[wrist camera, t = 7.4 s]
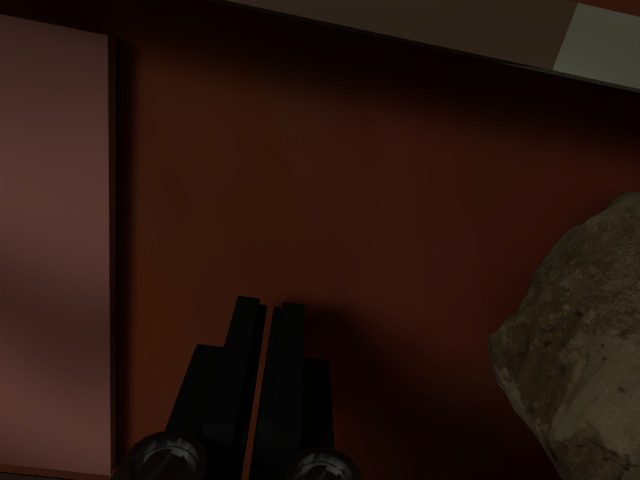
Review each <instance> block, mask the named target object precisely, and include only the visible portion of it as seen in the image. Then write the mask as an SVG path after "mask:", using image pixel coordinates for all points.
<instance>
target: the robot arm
mask: <svg viewBox="0 0 640 480" xmlns="http://www.w3.org/2000/svg"><path fill="white" fill-rule="evenodd" d="M259 302H260V299H258V298H251V297H243V296H238V298H237V302H236V305H235V309H234V313H233V316H232V320H231V323H230V327H229V331H228V334H227V338H226V341H225V345H224V347H217V346H209V345H201V344H198V345H197V346H196V348H195V350H194V353H193V356H192V358H191V361H190V364H189V366H188V369H187V372H186V375H185V377H184V380H183V383H182V385H181V388H180V391H179V394H178V396H177V399H176V402H175V404H174V407H173V410H172V413H171V415H170V418H169V421H168V423H167V426H166V429H165V431H163V432H157V433H154V434H152V435H149V436H147V437H145V438H143V439H142V440H140V441H139V442H137V443H136V444H135V445H134V446H133V447H132V448H131V449H130V450H129V451H128V453H127V454H126V455H125V457H124V458H123V460H122V461H121V463H120V465H119V466H118V468H117V469H116V471H115V473H114V474H113V476H112V477H111V479H110V480H241V476H242V470H243V463H244V457H245V450H246V444H247V438H248V431H249V425H250V419H251V412H252V406H253V399H254V393H255V386H256V379H257V372H258V366H259V359H260V352H261V345H262V338H263V332H264V325H265V318H266V311H267V305H260V304H259ZM304 308H305V307H304V305H302V304H295V303H288V302H283V306H282V307H274V311H273V317H272V323H271V330H270V336H269V343H268V349H267V356H266V362H265V369H264V375H263V382H262V388H261V395H260V402H259V409H258V416H257V423H256V431H255V438H254V445H253V452H252V459H251V467H250V474H249V480H363V478H362V476H361V474H360V471H359V469H358V467H357V466H356V465H355V464H354V463H353V461H352V460H351V459H350V458H349V457H347V456H346V455H344V454H343V453H342V452H340V451H337V450H335V449H334V436H333V419H332V401H331V384H330V367H329V361H328V360H321V359H313V358H305V357H303V355H304Z"/></svg>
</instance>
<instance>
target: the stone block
mask: <svg viewBox="0 0 640 480" xmlns="http://www.w3.org/2000/svg"><path fill="white" fill-rule="evenodd" d="M488 354H489V357H490V360H491V364H492V367H493V370H494V374H495V377H496V381H497V383H498V385H499V386H500V387H501V388H502V389H503V391H504V392H505V394H506V396H507V398H508V399H509V401H510V403H511V405H512V407H513V409H514V410H515V411H516V413H517V414H518V415H519V416H520V417H521V419H522V420H523V421H524V422H525V423H526V424H527V425H528V427H529V428H530V429H531V430H532V432H533V433H534V434H535V436H536V437H537V439H538V440H539V442H540V443H541V445H542V447H543V448H544V450H545V452H546V454H547V455H548V457H549V459H550V460H551V462H552V464H553V465H554V467H555V468H556V470H557V472H558V473H559V475H560V477H561V478H562V480H640V192H631V191H629V192H627V193H625V194H623V195H621V196H619V197H617V198H615V199H613V200H612V201H611V202H610V203H609V204H608V205H607V206H606V207H605V209H604V210H603V211H602V212H601V213H599V214H597V215H595V216H594V217H592V218H590V219H588V220H587V221H586V222H584V223H582V224H580V225H577V226H575V227H572V228H570V229H569V230H568V231H567V232H566V233H565V234H564V235H563V236H562V237H561V238H560V239H559V240H558V242H557V243H556V244H555V246H554V247H553V249H552V250H551V251H550V253H549V254H548V255H547V256H546V258H545V259H544V260H543V262H542V263H541V264H540V265H539V267H538V268H537V269H536V270H535V272H534V273H533V274H532V275H531V276H530V282H529V288H528V293H527V294H526V296H525V297H524V298H523V300H522V301H521V303H520V305H519V307H518V309H517V311H516V313H515V314H513V315H512V316H511V317H509V318H508V319H506V320H505V322H504V323H503V325H502V326H501V328H500V329H499V330H497V331H495V332H493V333H492V334H490V335H489V342H488Z"/></svg>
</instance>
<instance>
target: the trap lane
mask: <svg viewBox="0 0 640 480" xmlns="http://www.w3.org/2000/svg"><path fill="white" fill-rule="evenodd" d="M206 1H211V2H215V3H220V4H225V5H229V6H234V7H239V8H243V9H248V10H253V11H257V12H262V13H267V14H271V15H276V16H281V17H286V18H290V19H295V20H300V21H304V22H309V23H314V24H318V25H323V26H328V27H332V28H337V29H342V30H347V31H351V32H356V33H361V34H365V35H370V36H375V37H379V38H384V39H389V40H393V41H398V42H403V43H408V44H412V45H417V46H422V47H426V48H431V49H436V50H440V51H445V52H450V53H454V54H459V55H464V56H468V57H473V58H478V59H483V60H487V61H492V62H497V63H501V64H506V65H511V66H515V67H520V68H525V69H529V70H534V71H539V72H544V73H548V74H553V75H558V76H562V77H567V78H572V79H576V80H581V81H586V82H590V83H595V84H600V85H604V86H609V87H614V88H619V89H623V90H628V91H633V92H637V93H640V17H637V16H633V15H628V14H624V13H620V12H615V11H611V10H607V9H602V8H598V7H594V6H589V5H585V4H581V3H576V2H572V1H568V0H206ZM0 464H8V465H17V466H26V467H35V468H44V469H54V470H63V471H72V472H81V473H91V474H100V475H109V476H111V474H112V472H113V469H114V467H115V465H116V36H115V35H110V34H105V33H100V32H95V31H90V30H85V29H80V28H75V27H70V26H66V25H61V24H56V23H51V22H46V21H41V20H36V19H31V18H26V17H21V16H16V15H11V14H6V13H1V12H0ZM0 480H63V479H54V478H44V477H35V476H26V475H16V474H7V473H0Z"/></svg>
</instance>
